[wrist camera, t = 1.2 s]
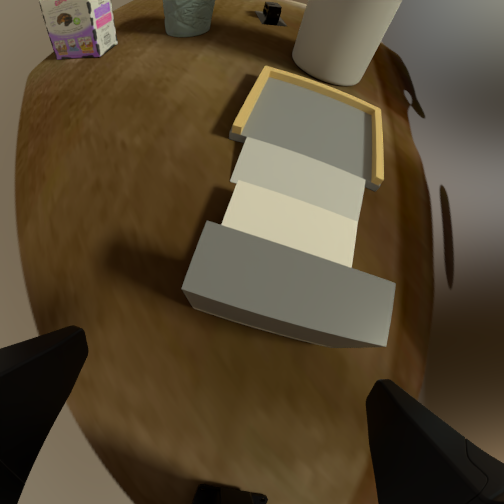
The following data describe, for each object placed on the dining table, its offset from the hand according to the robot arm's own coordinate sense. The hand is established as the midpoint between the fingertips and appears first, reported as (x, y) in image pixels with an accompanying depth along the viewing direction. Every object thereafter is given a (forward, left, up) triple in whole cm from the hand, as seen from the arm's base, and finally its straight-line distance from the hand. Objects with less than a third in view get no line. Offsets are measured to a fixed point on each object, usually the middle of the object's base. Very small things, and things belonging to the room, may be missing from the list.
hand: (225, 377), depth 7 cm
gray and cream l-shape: (+9, -3, -16) cm, 18 cm away
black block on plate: (+64, +11, -16) cm, 67 cm away
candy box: (+38, +42, -16) cm, 59 cm away
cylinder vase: (+46, -3, -16) cm, 49 cm away
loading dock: (+26, -3, -16) cm, 31 cm away
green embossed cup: (+49, +24, -16) cm, 57 cm away
